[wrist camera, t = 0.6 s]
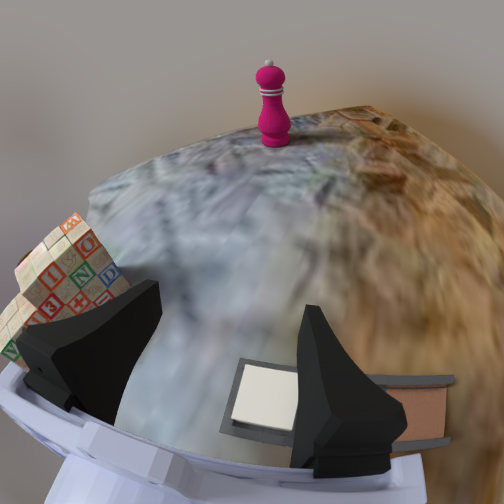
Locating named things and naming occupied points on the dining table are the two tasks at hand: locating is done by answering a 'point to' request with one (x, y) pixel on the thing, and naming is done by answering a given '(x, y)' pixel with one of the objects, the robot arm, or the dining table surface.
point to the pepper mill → (272, 106)
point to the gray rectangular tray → (399, 387)
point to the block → (267, 398)
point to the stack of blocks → (60, 282)
